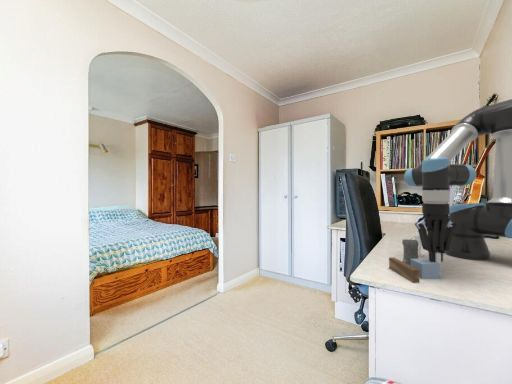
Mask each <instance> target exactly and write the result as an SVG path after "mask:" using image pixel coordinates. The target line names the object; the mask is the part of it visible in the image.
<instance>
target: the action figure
mask: <svg viewBox="0 0 512 384" xmlns="http://www.w3.org/2000/svg"><path fill="white" fill-rule="evenodd" d="M413 238H414V239H413ZM408 239H410V240H417V241H418V257H424V255H423V253H422V243H421V239H420V235H419V231H418V229H417V228H416V230H415V233H413V234H412V236H410V237H409V238H407V239H406V240H408Z"/></svg>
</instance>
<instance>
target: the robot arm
mask: <svg viewBox="0 0 512 384" xmlns="http://www.w3.org/2000/svg"><path fill="white" fill-rule="evenodd" d="M489 134H490V137H492V138H493V139H495V150H494V151H495V152H494V167H493V168H494V169H493V187H492V198H491V199H489V200H488V201H486V202H487V203H486V205H485V203H484V202H476V203H475V202H474V203H459V204H458V203H457V204H452V205H451V204H449V203H450V201H451V200H450V194H451V193H450V186H451V187H452V186H459V187H462V186H468V185H470V184H472V183H474V181H475V180H476V178H477V172H476V171H477V170H476V168H474V167H473V166H472V165H469V164H464V163H460V164H459V163H458V164H454V163H453V164H451V162H452V160H453V159H454V158H455V157H456V156H457V155H458V154H459V153H460V152H461V151H462V150H463V149H464V148H465V147H466V146H467V144H468V143H472V142H474V140H476V139H477V138H479V137H481V136H485V135H489ZM403 178H404V182H405V183H406V184H407V185H408V186H411V187H421V189H422V191H421V193H422V196H421V197H422V198H421V200H422V202H423V203H422V205H421V206H422V207H421V209H422V211H421V212H422V218H421V220H420V221H419V222H415V223H414V225H415V227H416V229H418V231H419V235H420V239H421V243H422V246H421V248H422V250H425V251H427V252H428V259H429V261H431V262H437V263H439V264H440V273H441V272H442V262H443V261H444V254H446V255H449V256H452V257H456V258H461V259H465V260H466V259H467V260H477V261H479V260H480V261H485V260H490V259H491V252H490V250H489V247H488V244H487V242H486V240H485V239H486V238H485V235H488V236H494V237H501V238H506V239H512V98H511V99H508V100H504V101H501V102H497V103H493V104H489V105H486V106H482V107H479V108H477V109H475V110H473V111H472V112H470V113H469V114H467V115H465V116H464V117H463V118H461V119H460V120H459V121H458V122H457V123H456V124H454V126H453V127H452V128H451V131H450V133H449V135H448V136H446V137H445V138H444V140H442V141H441V142H440V143H439V145H437V146H436V148H435V149H434V150H433V151H431V152H430V154H429V155H428V156H426V157H425V159H423V160H422V162H421V163H420V164H419V165H418V166H417V167H412V168H409V169H407V170H406V171H405V172H404V175H403ZM450 205H451V206H450Z"/></svg>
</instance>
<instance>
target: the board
mask: <svg viewBox="0 0 512 384" xmlns="http://www.w3.org/2000/svg"><path fill="white" fill-rule="evenodd" d="M388 265H389V266H388V268H389V269H390V270H392V271H394V272H395V273H397V274H398V275H400V276H401V277H403V278H405V279H406V280H408V281H410V282H412V283H420V278H419V270H418V269H416V268H414V267H412V266H410V265H408V264H406V263H404V262H403V260H400V259H398V258H396V257H388Z"/></svg>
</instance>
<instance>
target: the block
mask: <svg viewBox="0 0 512 384" xmlns="http://www.w3.org/2000/svg"><path fill="white" fill-rule="evenodd" d="M411 266H412V267H414V268H416V269H418V270H419V279H422V280H441V272H440V264H439V263H437V262H431V261H429V258H419V259H411Z"/></svg>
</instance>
